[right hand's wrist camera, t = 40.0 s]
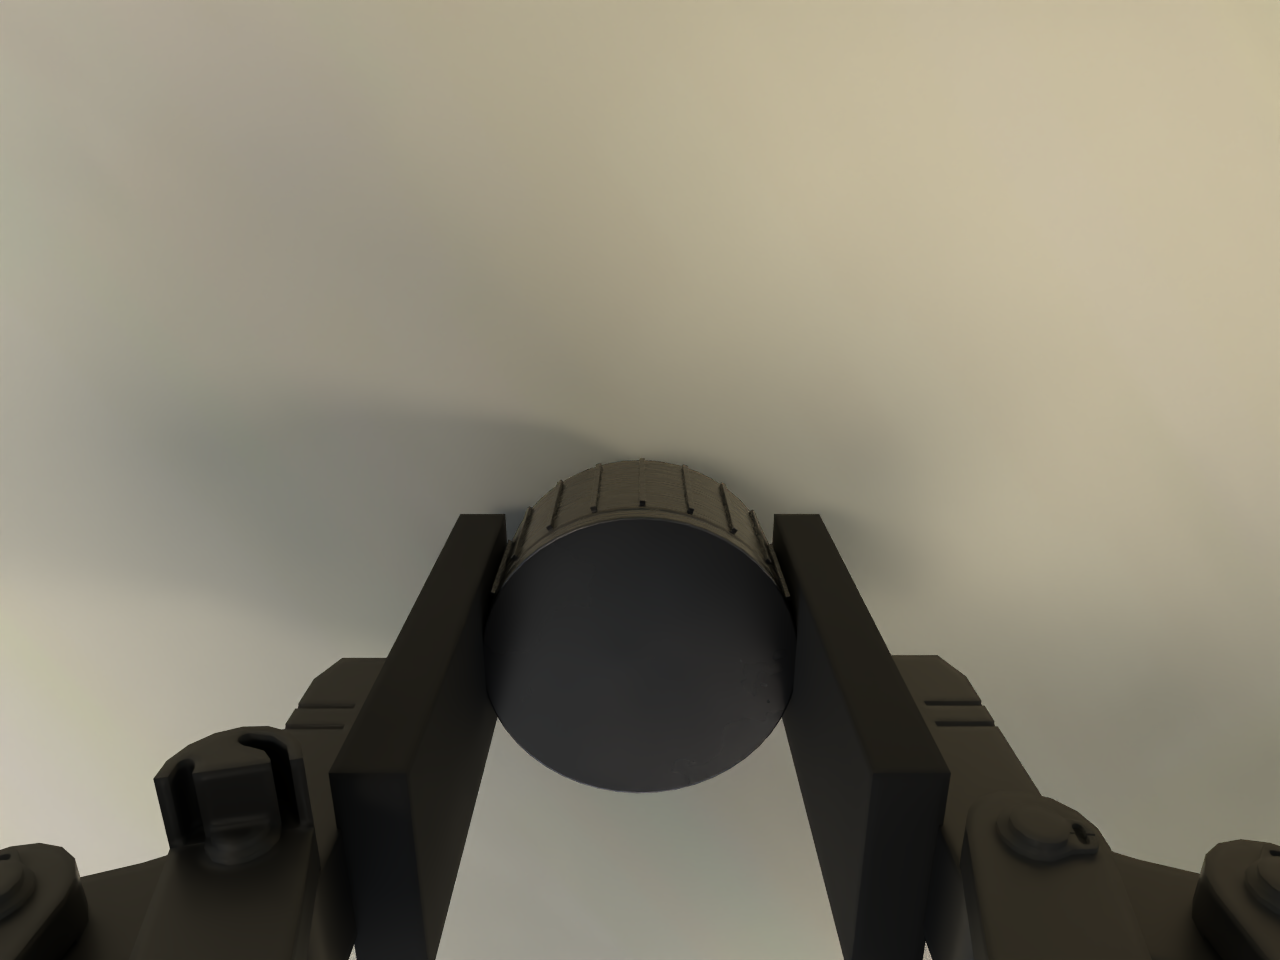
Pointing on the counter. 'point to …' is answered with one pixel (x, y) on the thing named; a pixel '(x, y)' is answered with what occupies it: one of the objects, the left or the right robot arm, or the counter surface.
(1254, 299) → the counter surface
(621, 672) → the cap
